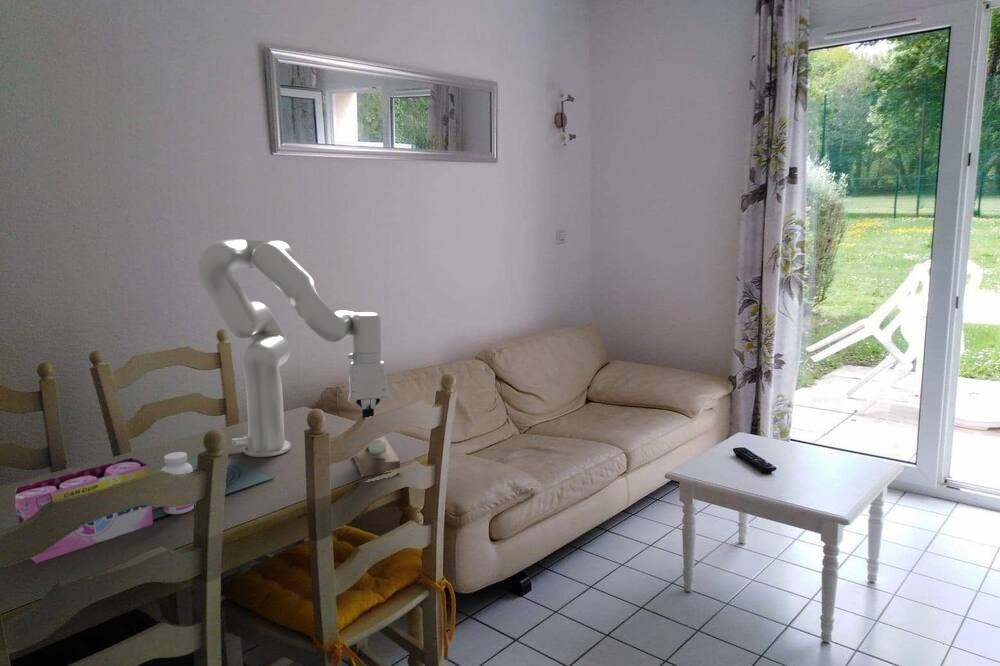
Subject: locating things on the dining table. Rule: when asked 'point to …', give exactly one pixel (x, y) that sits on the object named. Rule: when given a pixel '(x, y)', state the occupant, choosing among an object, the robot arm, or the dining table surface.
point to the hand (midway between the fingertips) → (368, 421)
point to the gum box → (81, 483)
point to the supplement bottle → (177, 466)
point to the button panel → (377, 461)
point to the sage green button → (377, 447)
